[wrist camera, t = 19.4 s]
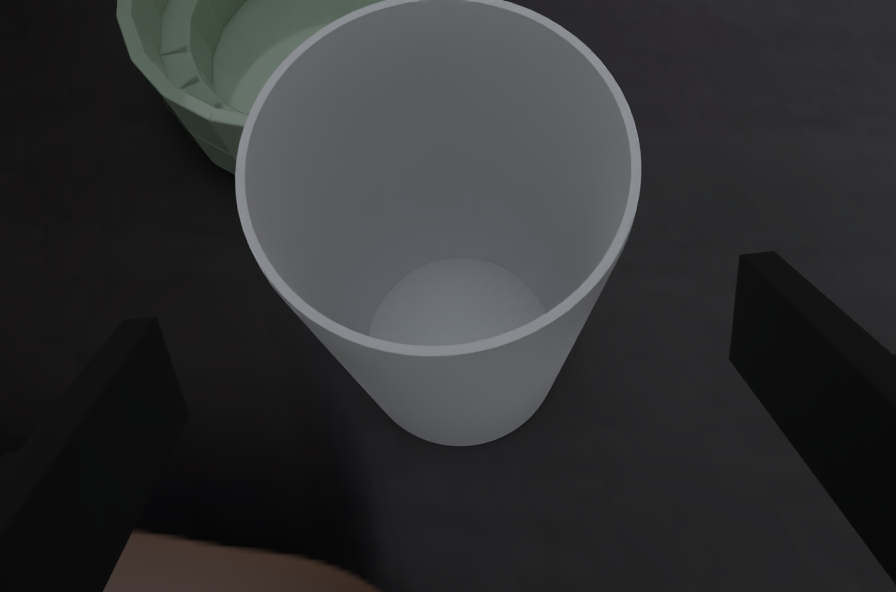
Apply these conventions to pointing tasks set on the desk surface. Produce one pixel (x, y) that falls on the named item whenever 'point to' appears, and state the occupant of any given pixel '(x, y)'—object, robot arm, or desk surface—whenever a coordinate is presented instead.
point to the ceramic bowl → (218, 57)
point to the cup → (441, 203)
